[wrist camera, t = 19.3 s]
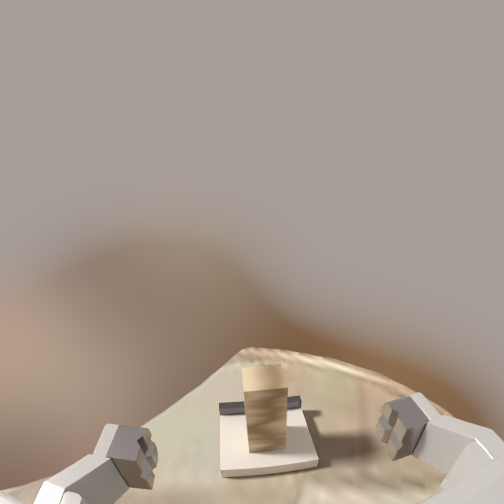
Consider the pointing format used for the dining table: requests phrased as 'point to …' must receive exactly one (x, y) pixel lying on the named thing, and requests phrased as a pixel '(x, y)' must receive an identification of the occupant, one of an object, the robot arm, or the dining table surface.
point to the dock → (259, 463)
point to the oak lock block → (265, 407)
